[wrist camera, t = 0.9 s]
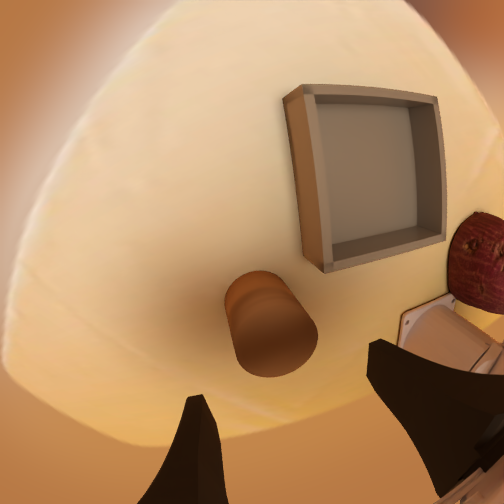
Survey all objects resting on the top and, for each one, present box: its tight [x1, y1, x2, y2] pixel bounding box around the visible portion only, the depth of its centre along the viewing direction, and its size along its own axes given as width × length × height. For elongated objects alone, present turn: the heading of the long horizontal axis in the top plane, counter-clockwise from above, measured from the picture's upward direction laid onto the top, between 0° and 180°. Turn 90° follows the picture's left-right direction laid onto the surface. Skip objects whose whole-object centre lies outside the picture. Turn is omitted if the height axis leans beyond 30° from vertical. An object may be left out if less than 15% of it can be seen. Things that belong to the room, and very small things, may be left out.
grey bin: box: [283, 84, 447, 274], centre depth 17 cm, size 11×11×4 cm
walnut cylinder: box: [225, 271, 318, 377], centre depth 17 cm, size 5×5×6 cm
